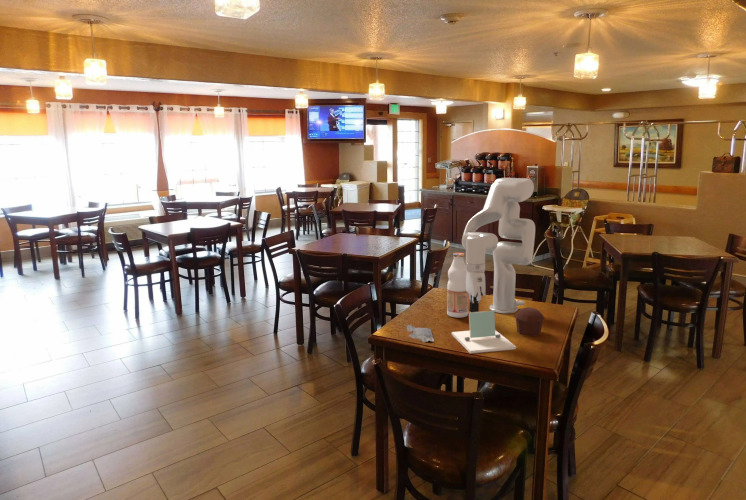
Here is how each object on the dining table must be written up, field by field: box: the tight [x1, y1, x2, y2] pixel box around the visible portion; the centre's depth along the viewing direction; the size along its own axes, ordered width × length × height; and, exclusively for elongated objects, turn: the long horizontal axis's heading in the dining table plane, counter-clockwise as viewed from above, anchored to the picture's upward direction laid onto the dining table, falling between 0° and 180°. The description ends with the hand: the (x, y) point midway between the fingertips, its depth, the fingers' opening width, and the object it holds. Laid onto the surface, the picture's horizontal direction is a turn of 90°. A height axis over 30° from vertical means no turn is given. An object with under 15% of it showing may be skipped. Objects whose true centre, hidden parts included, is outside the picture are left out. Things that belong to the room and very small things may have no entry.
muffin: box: [514, 307, 546, 337], centre depth 210 cm, size 12×11×10 cm
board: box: [451, 329, 517, 354], centre depth 202 cm, size 18×20×2 cm
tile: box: [468, 310, 496, 338], centre depth 201 cm, size 10×10×1 cm
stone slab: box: [406, 324, 435, 343], centre depth 210 cm, size 18×2×10 cm
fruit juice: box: [446, 252, 470, 319], centre depth 231 cm, size 9×9×28 cm
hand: (474, 311), depth 209 cm, fingers closed
